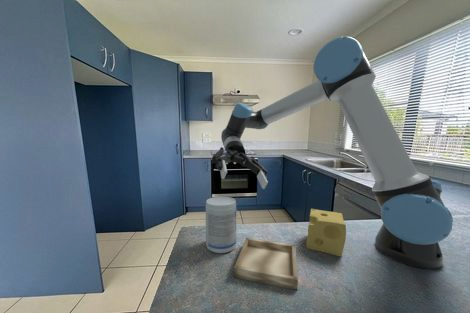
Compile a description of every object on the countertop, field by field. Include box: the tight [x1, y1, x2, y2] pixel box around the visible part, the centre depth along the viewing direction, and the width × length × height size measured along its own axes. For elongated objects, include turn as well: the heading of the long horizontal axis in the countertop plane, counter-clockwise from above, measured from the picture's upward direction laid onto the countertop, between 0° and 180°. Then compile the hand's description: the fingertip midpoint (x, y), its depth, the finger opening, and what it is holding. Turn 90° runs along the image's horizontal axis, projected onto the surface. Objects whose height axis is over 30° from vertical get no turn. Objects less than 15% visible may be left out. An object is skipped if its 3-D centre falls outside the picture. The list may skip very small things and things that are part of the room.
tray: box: [233, 237, 299, 291], centre depth 52 cm, size 15×15×2 cm
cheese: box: [305, 208, 347, 257], centre depth 62 cm, size 10×11×10 cm
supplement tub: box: [205, 195, 237, 254], centre depth 60 cm, size 10×10×15 cm
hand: (245, 180), depth 58 cm, fingers open, 13 cm apart
